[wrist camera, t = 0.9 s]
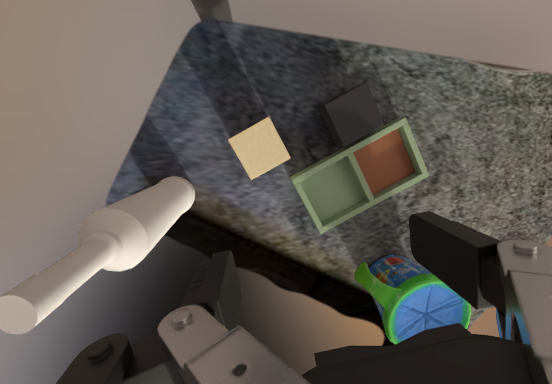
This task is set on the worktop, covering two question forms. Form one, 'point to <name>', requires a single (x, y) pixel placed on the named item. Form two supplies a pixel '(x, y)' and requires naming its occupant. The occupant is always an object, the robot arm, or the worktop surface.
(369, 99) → the dark gray block
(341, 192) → the frame
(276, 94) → the worktop surface
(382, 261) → the snack cup
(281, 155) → the foam pad
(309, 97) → the worktop surface
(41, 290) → the bottle
